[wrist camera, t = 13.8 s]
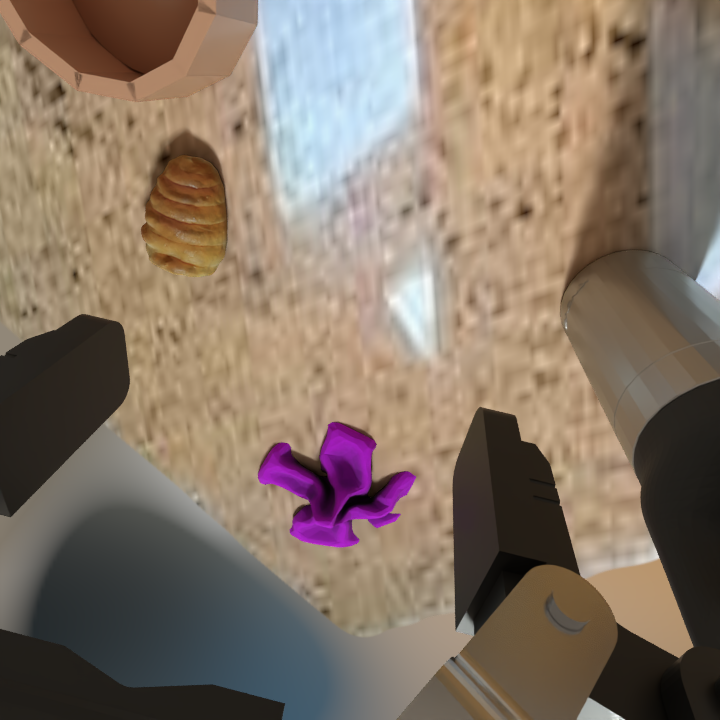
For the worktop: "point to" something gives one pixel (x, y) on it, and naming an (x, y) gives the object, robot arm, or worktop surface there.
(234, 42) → the bowl
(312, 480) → the cloth
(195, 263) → the pastry
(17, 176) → the worktop surface
